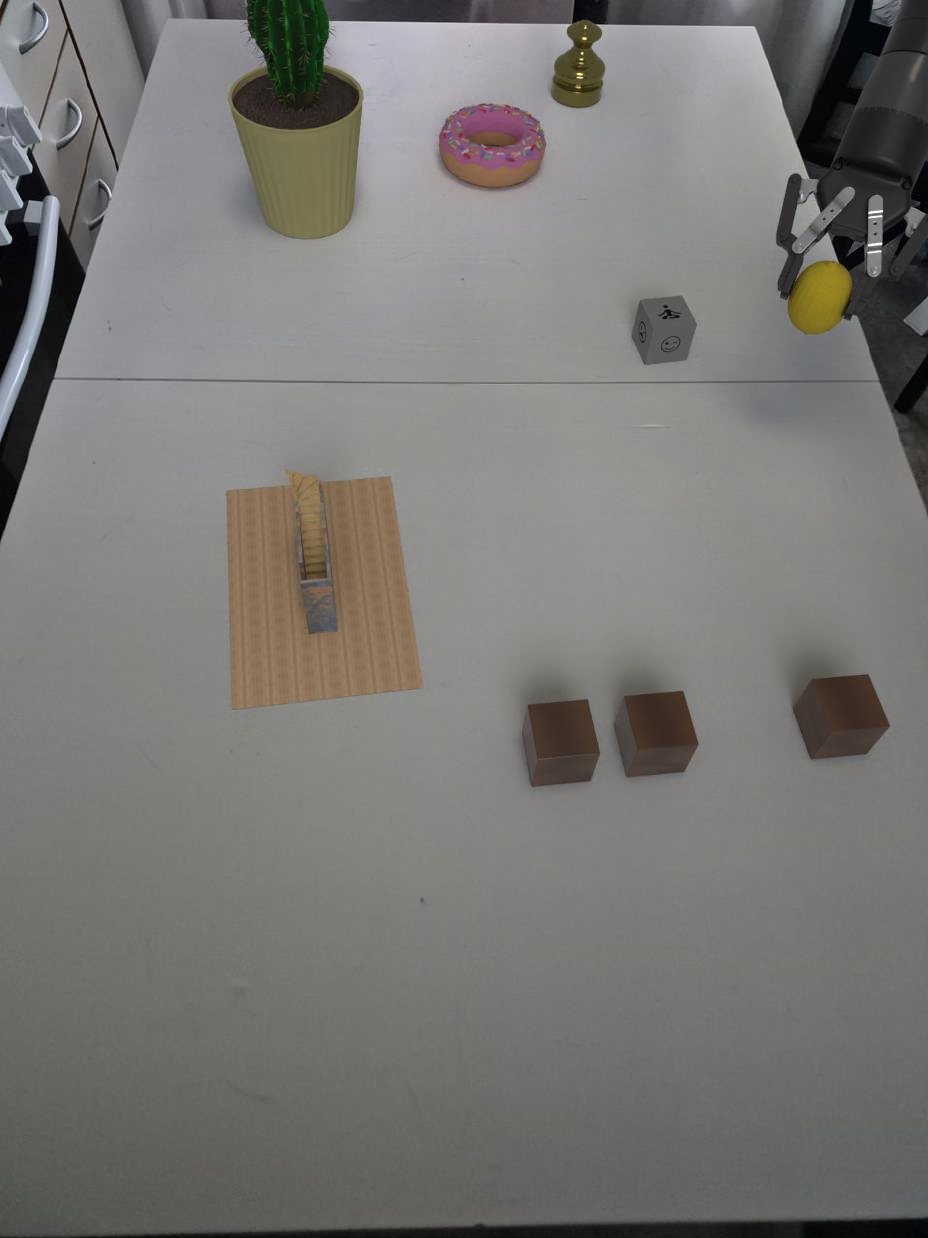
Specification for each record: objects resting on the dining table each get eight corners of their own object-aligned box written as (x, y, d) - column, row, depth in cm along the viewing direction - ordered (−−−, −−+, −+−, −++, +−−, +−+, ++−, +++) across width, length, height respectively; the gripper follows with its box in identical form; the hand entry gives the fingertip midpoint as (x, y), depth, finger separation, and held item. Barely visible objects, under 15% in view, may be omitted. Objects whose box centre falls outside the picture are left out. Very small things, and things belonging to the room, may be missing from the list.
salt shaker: (540, 93, 142) (548, 19, 134) (575, 77, 145) (584, 4, 137) (576, 113, 139) (586, 40, 131) (611, 97, 142) (623, 24, 134)
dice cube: (644, 364, 109) (653, 328, 105) (631, 335, 112) (639, 299, 108) (686, 359, 110) (697, 323, 106) (672, 331, 112) (682, 295, 108)
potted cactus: (381, 186, 127) (371, -79, 102) (352, 256, 118) (335, -15, 93) (267, 170, 128) (230, -96, 103) (231, 239, 119) (181, -34, 94)
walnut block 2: (670, 717, 83) (683, 688, 79) (684, 772, 80) (699, 744, 76) (613, 723, 83) (623, 693, 79) (626, 777, 80) (637, 750, 76)
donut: (451, 197, 126) (453, 160, 122) (428, 139, 134) (428, 102, 130) (556, 186, 128) (561, 150, 124) (527, 129, 136) (531, 93, 132)
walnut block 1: (579, 726, 82) (587, 697, 78) (591, 781, 79) (600, 754, 75) (521, 731, 82) (527, 702, 78) (531, 787, 79) (537, 760, 75)
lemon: (822, 312, 96) (850, 241, 90) (843, 348, 93) (874, 278, 87) (769, 317, 96) (794, 246, 89) (789, 354, 93) (816, 283, 86)
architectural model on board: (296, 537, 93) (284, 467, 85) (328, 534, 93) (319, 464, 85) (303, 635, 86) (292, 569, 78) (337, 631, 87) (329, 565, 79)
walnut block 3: (846, 701, 85) (868, 672, 81) (867, 754, 82) (890, 726, 78) (791, 706, 84) (811, 677, 80) (810, 759, 81) (831, 732, 77)
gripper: (818, 84, 85) (740, 275, 88) (984, 128, 81) (896, 325, 85) (814, 117, 92) (742, 292, 95) (967, 159, 88) (886, 339, 92)
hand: (815, 307), depth 90 cm, fingers closed on lemon, 5 cm apart
